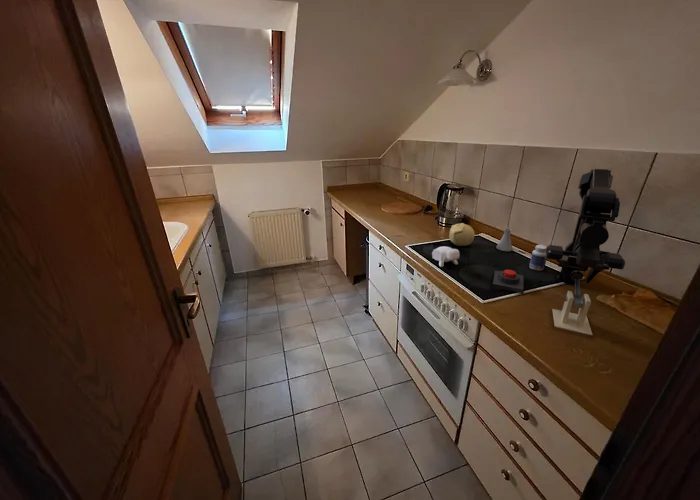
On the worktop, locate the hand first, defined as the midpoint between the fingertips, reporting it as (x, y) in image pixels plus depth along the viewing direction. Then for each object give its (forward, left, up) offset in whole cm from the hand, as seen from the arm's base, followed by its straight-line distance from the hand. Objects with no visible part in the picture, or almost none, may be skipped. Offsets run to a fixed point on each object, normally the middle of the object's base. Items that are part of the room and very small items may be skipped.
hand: (575, 281), depth 94 cm
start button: (-9, -18, -7) cm, 21 cm away
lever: (+4, 0, -2) cm, 4 cm away
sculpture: (-44, -41, -10) cm, 61 cm away
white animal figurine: (-18, -43, -10) cm, 48 cm away
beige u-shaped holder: (+9, 0, -10) cm, 14 cm away
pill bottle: (-29, -8, -10) cm, 32 cm away
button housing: (-9, -18, -10) cm, 23 cm away
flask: (-46, -21, -10) cm, 52 cm away
